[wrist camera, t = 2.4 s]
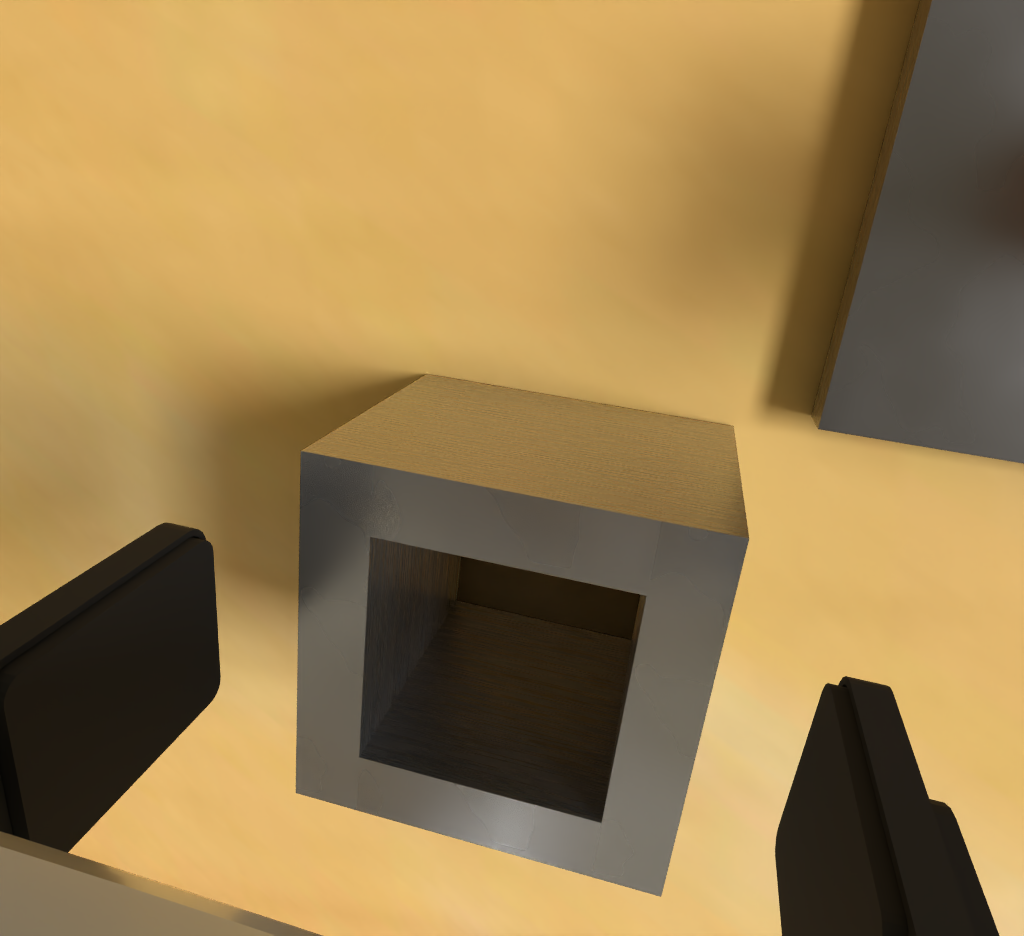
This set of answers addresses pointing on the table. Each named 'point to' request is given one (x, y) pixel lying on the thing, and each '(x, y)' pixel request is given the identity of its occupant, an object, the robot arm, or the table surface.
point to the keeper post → (941, 249)
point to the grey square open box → (514, 620)
